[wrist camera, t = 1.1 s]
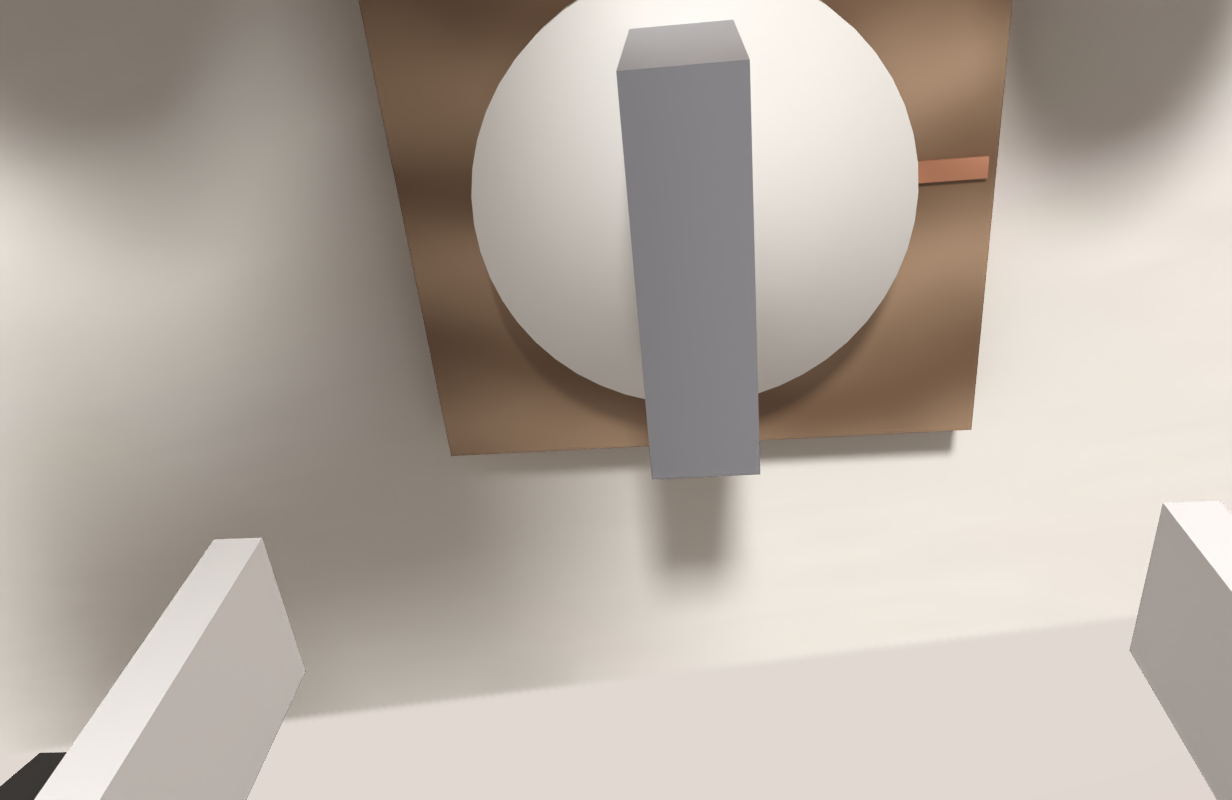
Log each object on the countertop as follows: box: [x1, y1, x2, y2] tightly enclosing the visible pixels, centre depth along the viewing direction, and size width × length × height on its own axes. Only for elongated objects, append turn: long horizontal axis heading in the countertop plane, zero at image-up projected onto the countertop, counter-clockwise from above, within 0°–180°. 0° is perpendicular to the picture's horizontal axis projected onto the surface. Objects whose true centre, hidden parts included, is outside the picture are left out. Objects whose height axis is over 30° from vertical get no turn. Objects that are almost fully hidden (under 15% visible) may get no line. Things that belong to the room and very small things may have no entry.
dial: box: [471, 0, 918, 479], centre depth 28 cm, size 14×14×9 cm
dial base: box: [359, 0, 1012, 456], centre depth 33 cm, size 20×20×2 cm
